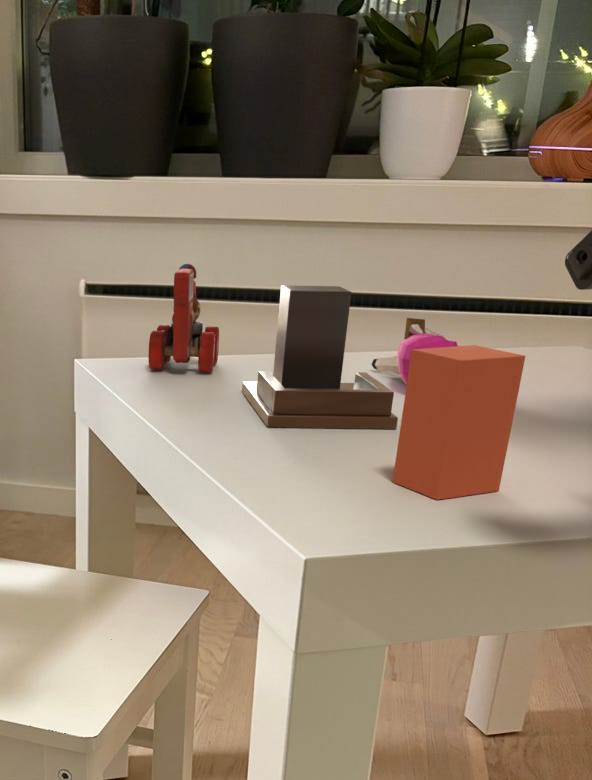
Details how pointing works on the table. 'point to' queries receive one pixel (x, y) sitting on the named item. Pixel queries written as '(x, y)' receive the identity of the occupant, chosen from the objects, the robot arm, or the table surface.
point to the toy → (411, 348)
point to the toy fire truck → (184, 329)
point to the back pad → (457, 420)
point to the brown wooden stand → (316, 369)
